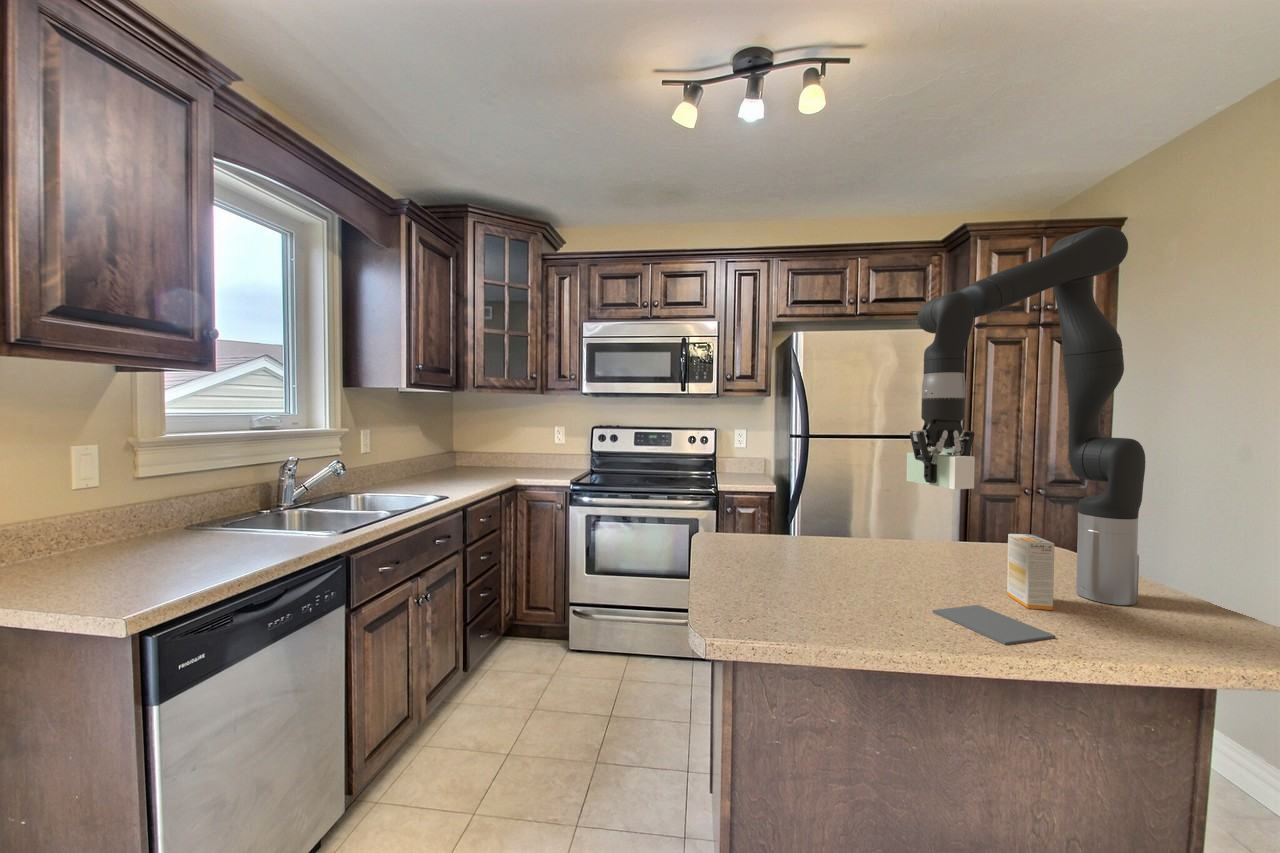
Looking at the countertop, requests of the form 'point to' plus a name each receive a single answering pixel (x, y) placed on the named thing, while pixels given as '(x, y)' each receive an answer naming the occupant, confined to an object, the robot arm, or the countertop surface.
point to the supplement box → (1030, 571)
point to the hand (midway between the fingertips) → (941, 481)
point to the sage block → (944, 471)
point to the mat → (993, 624)
